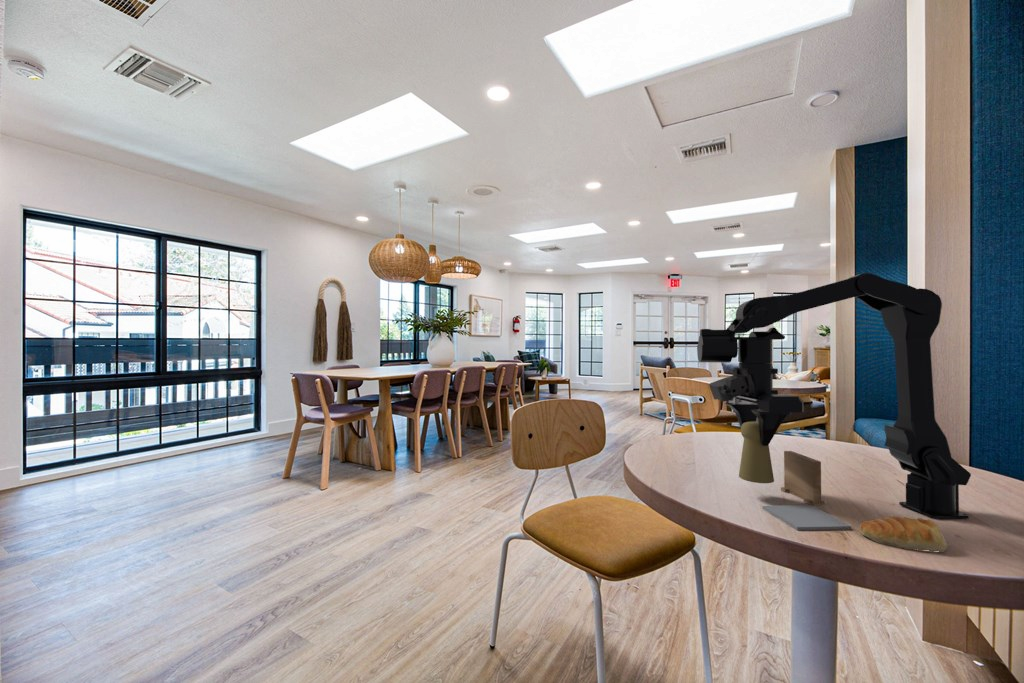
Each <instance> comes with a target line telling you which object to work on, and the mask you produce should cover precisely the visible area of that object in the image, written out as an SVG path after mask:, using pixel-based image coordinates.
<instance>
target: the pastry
mask: <svg viewBox="0 0 1024 683" xmlns="http://www.w3.org/2000/svg"><path fill="white" fill-rule="evenodd" d="M859 533H860V534H862V535H863V536H864V537H866V538H867V539H868V538H869V539H870V540H872V541H874V542H876V543H878V544H881V543H882V545H888V546H891V547H897V548H900V549H904V548H905V549H904V550H912V549H916V550H915V551H920V550H929V551H939V552H942V553H944V552H945V551H946V550H947V549H948V544H947V542H946V540H945V537H944V535H943V534H942V532H941V529H940V527H939V526H938V525H937V524H936V523H935V522H934V521H932V519H925V518H924V519H923V518H922V517H918V518H917V519H916V518H911V517H906V516H897V515H896V516H895V515H893V516H889V517H885V518H880V519H879V518H873V519H872V520H867V521H863V522H862V523H861V525H860V528H859ZM917 549H918V550H917ZM943 551H944V552H943Z"/></svg>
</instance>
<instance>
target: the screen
mask: <svg viewBox="0 0 1024 683" xmlns="http://www.w3.org/2000/svg"><path fill="white" fill-rule="evenodd" d="M783 463H784V464H783V465H784V466H783V467H784V468H783V470H784V471H783V473H784V474H783V475H784V477H783V479H784V480H783V482H784V484H783V485H784V486H782V487H780V491H782V492H784V493H790V494H792V495H794V496H796V497H797V498H800V499H802V500H803V502H804V503H805V504H806V505H812V506H813V505H815V506H816V505H817V506H818V505H825V504H826V501H825V500H824V499H822V461H820V460H818V459H814V458H812V457H809V456H806V455H803V454H801V453H797V452H795V451H792V450H784V451H783Z"/></svg>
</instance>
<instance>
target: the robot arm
mask: <svg viewBox="0 0 1024 683" xmlns="http://www.w3.org/2000/svg"><path fill="white" fill-rule="evenodd" d="M852 298H855V299H857V300H859V301H860V302H862V303H863V304H865V305H866V306H868V307H869V308H871V309H872V310H875V311H877V312H880V313H881V317H882V321H883V325H884V328H886V330H887V332H888V333H889V336H890V337H891V338H892V340H893V344H894V345H893V346H894V361H895V362H894V363H895V378H896V393H897V395H896V396H897V409H898V410H897V411H898V412H897V413H898V415H897V419H896V421H894V422H895V423H894V424H893V425H887V424H885V425H884V434H885V436H886V437H885V442H884V445H883V446H884V447H886V448H888V450H889V454H890V455H891V456H892V457H893V458H895V459H896V460H897V461H898V463H899V465H900V468H901V470H904V471H908V472H909V473H906V477H907V478H906V481H907V482H905V501H899V503H898V504H899V505H900V506H902V507H904V508H907V509H909V510H911V511H914V512H917V513H920V514H921V515H924V516H928V517H930V518H933V519H969V518H970V515H969V514H968V513H965V512H962V511H960V503H959V502H960V500H959V499H960V495H959V494H960V493H959V490H960V489H959V486H967V485H968V483H969V481H970V479H971V476H972V473H970V472H969V471H968V470H967V469H966V468H965V467H963V466H962V465H961V464H960V463H959V462H957V461H956V460H955V459H954V458H953V457H952V453H951V450H950V449H951V448H950V446H949V442H948V438H947V436H946V434H945V433H944V431H943V430H942V428H941V427H940V425H939V423H938V421H937V420H936V412H935V396H934V395H935V394H934V380H933V379H934V378H933V366H932V365H933V362H932V350H931V349H932V347H931V346H932V345H931V339H932V337H933V335H934V334H935V331H936V330H937V327H938V326H939V324H940V322H941V321H940V320H941V314H942V308H943V303H942V302H943V301H942V298H941V296H940V295H939V294H937V293H935V292H934V291H933V290H930V289H928V288H917V287H914V286H911V285H909V284H905V283H902V282H898V281H895V280H890V279H886V278H884V277H881V276H878V275H876V274H874V273H871V272H863V273H859V274H857V275H853V276H849V277H848V278H845V279H842V280H838V281H836V282H831V283H828V284H823V285H822V286H817V287H813V288H810V289H807V290H804V291H799V292H796V293H791V294H785V295H783V294H782V295H772V296H765V297H763V296H762V297H756V298H753V299H751V300H747V301H745V302H742V303H741V304H739V306H738V307H737V309H736V311H735V318H734V319H733V321H732V322H731V323H730V325H728V327H727V328H726V329H710V328H702V329H699V336H698V342H697V343H698V344H697V345H696V353H697V360H698V363H723V364H724V363H725V364H726V363H731V362H732V359H735V358H737V357H738V366H737V367H733V369H732V375H731V376H727V377H726V376H725V377H724V378H720V379H718V380H716V381H713V382H712V381H711V383H708V387H709V390H710V392H711V395H712V397H713V400H714V401H715V400H718V401H720V402H724V404H725V405H726V406H727V407H729V408H730V409H731V410H732V411H733V412H734V414H736V415H735V416H736V418H737V420H738V424H739V427H740V428H741V426H742V424H743V423H745V422H759V431H760V439H761V444H762V445H763V446H768V445H770V443H771V442H772V440H773V438H774V436H775V434H776V433H777V432H778V429H779V428H780V426H781V425H782V424H783V422H784V420H785V419H786V418H787V417H788V416H789V415H791V414H792V413H804V401H803V400H802V398H801V397H800V396H798V395H792V394H787V393H779V391H778V389H773V388H774V387H773V386H774V385H773V379H774V378H773V375H778V374H779V370H778V368H776V367H775V368H773V341H776V340H778V341H779V340H785V339H786V336H785V335H784V334H782V333H781V332H779V331H778V329H777V328H776V327H769V326H771V325H773V324H776V323H778V322H779V321H782V320H784V319H785V318H788V317H789V316H792V315H794V314H797V313H799V312H802V311H807V310H810V309H814V308H819V307H823V306H825V305H830V304H833V303H837V302H840V301H845V300H849V299H852ZM767 327H769V329H768V330H767V331H752V330H754V329H760V328H761V329H762V328H767ZM748 332H749V335H748V336H736V334H746V333H748Z"/></svg>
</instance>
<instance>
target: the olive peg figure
mask: <svg viewBox="0 0 1024 683" xmlns="http://www.w3.org/2000/svg"><path fill="white" fill-rule="evenodd" d="M740 435H741V436H742V437H743V441H742V442H743V444H742V450H741V458H740V464H739V471H738V478H740V479H741V480H743V481H747V482H750V483H757V484H772V483H775V477H774V472H773V465H772V459H771V452H770V446H769V445H770V444H769V445H768V446H763V445H762V444H761V439H760V431H759V422H758V421H756V422H745V423H743V424H742V426H741V427H740Z"/></svg>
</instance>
